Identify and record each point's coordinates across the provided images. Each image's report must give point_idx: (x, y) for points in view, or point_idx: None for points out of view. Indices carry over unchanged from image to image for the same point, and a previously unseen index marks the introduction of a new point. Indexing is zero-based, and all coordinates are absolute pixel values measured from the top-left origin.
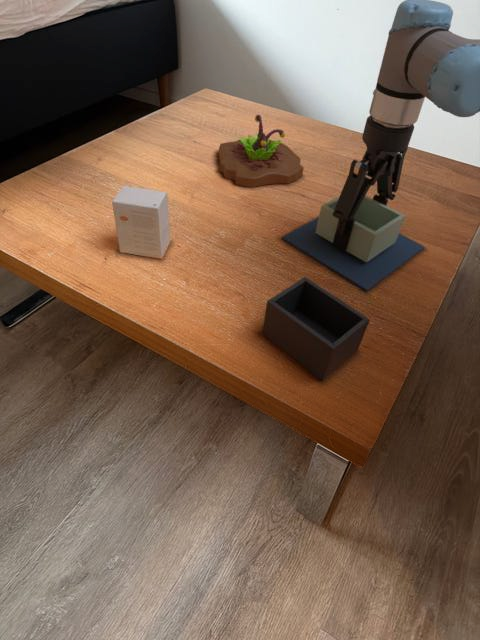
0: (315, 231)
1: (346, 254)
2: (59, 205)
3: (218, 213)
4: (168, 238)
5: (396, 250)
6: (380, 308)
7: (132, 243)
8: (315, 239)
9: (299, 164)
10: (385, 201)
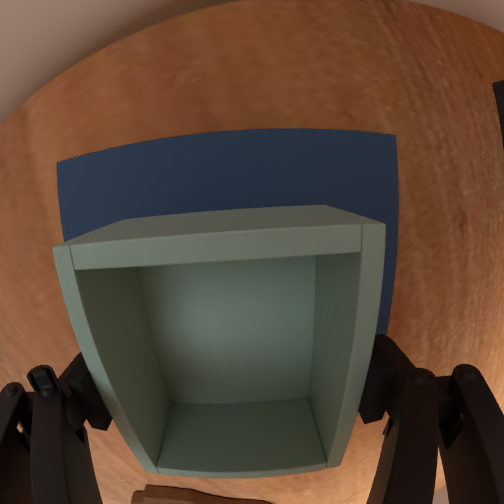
0: None
1: None
2: (442, 478)
3: (367, 471)
4: None
5: (140, 197)
6: (403, 81)
7: None
8: None
9: (145, 502)
10: (81, 383)
